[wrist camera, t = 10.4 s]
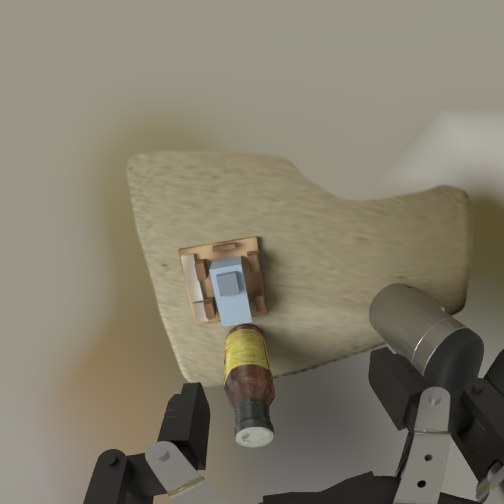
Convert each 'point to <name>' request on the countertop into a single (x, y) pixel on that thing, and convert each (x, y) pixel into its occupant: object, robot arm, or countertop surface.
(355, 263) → the countertop surface
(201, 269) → the jig
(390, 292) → the robot arm
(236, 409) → the sauce bottle
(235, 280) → the light blue block
